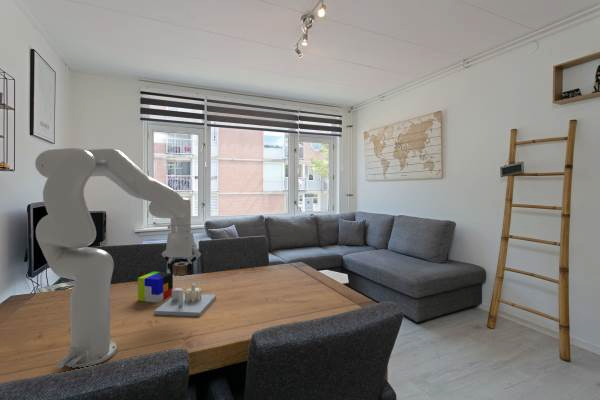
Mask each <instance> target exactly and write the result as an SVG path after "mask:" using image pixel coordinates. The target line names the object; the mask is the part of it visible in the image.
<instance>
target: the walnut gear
mask: <svg viewBox="0 0 600 400" xmlns="http://www.w3.org/2000/svg"><path fill="white" fill-rule="evenodd" d="M188 264H189V262H188V261H179V262H175V264H172V275H173V277H177V276H178V277H184V276H188V275H189V274H188V273H187V265H188Z"/></svg>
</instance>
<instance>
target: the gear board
mask: <svg viewBox="0 0 600 400" xmlns="http://www.w3.org/2000/svg"><path fill="white" fill-rule="evenodd" d="M190 286H191V287H190V288H187V289H186V290H184V289H183V288H181V287H175V288H173V289H172V295H171V297H170V298H169V299H168V300H166V301H165V302H164V303H163V304H161V305H160V306H159V307H157V308H156V309H155V310H153V312H154V313H153V314H154V315H155V316H156V315H157V316H176V317H178V316H180V317H200V316H202V314H203V313H204V312H206V311H207V309H208V308H209V307H210V306H211V304H212V303H213V302H214V301H215V300H216V299H217V294H206V293H205V294H203V293H202V288H200V287H196V283H191V285H190Z"/></svg>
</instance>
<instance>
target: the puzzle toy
mask: <svg viewBox="0 0 600 400" xmlns="http://www.w3.org/2000/svg"><path fill="white" fill-rule="evenodd" d="M173 285H174V275H172V273H170V272H164V271H162V272H161V271H151V272H149V273H147V274H143V275H142V276H139V277H138V278H137V301H141V302H150V303H160V302H162V301H164V300H166V299H167V298H169V297H172V289H174V286H173Z"/></svg>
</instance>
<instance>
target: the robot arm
mask: <svg viewBox="0 0 600 400" xmlns="http://www.w3.org/2000/svg"><path fill="white" fill-rule="evenodd" d="M34 164H35V165H34V166H35V169H36V171H37V172H38V173H39V174H40V175H41V176H42V177H44V178H47V179H46V181H45V183H44V185H43V186H44V187H43V191H42V198H43V203H44V208H45V210H46V212H47V215H45V216H43V217H41V219H40V220H39V221H38V223H37V225H36V227H35V238H36V241H37V243H38V245H39V247H40V249H41V251H42V254H43V256H44V258H45V260H46V262H47V264H48V266H49V268H50V270H51V271H52V272H53V273H54V275H56V276H58V277H59V278H63V279H64V278H65V279H69V280H73V281H74V285H73V287H72V291H71V293H70V297H69V315H70V318H69V319H70V320H69V321H70V325H69V327H70V347H69V348H68V350H67V354H66V355H65V356H64V357H63V358H61V359H60V360H58V361H57V362H56V367H57V368H58V369H62V368H64V367H65V366H66V367H67V368H71V367H72V369H77V368H76V367H79V368H78V369H80V368H81V367H82V366H84V367H83V368H87V367H86V366H88V367H91V366H95V365H98V364H101V363H103V362H105V361H107V360H108V359H111V357H113V356H114V355H115V354H116V352H117V349H118V347H117V344H116V343H115V342H114V341H112V340H111V338H112V337H111V336H112V335H111V334H112V333H111V282H112V276H113V272H114V267H115V266H114V265H115V264H114V263H115V262H114V259H113V257H112V255H111V254H110V253H109V252H108V251H106V250H103V249H101V248H95V247H88V246H90V245H91V244H93V243H94V242H95V240H96V237H97V230H96V229H97V228H96V225H95V222H94V221H93V218H92V215H91V213H90V210H89V207H88V206H87V202H86V199H85V194H84V193H85V192H84V191H85V187H86V184H87V182H88V181H89V179H90V178H91V177H105V178H108V179H109V180H110V181H112V182H113V183H114V184H115V185H117V187H119V188H120V189H122V190H123V192H125V193H127V194H128V195H130V196H131V197H134V198H136V199H139V200H144V201H147V202H148V201H149V202H150V203H149V205H148V211H149V214H150V215H151V216H152V217H155V218H159V219H170V225H167V229H169V230H170V231H169V232H168V233H167V238H166V239H167V240H166V247H165V250H164V251H162V252H161V256H162V257H163V258H164V259H165V261H166V262H167V264H168V269H169V273H172V264H175V263H176V261H175V259H178V258H179V259H186V260H187V262H188V263H189V264H188V265H187V273H188V275H190V274H191V273H193V271H194V263H195V261H197V260H198V258H199V257H200V256H201V255H202V254H201V252H200V251H199V250H198V249H197V248H196V246H195V238H194V233H193V231H192V227H191V226H192V216H191V215H192V213H191V210H192V207H191V202H192V201H191V199H190V198H189V197H188V198H187V197H183V196H181V195H180V194H179V193H178V191H176V190H174V189H173V188H171V187H170V186H168V185H166V184H164V183H163V182H160V181H159V180H157V179H154V178H153V177H150V176H149V175H148V174H147V173H146V172H145V171H143V170H142V169H141V168H140V167H139V166H138V165H137V164H136V163H135V162H133V161H132V160H131V159H130V158H129V157H128V156H127V155H126V154H124V152H122V151H120V150H119V149H115V148H97V149H96V148H94V149H93V148H91V149H84V148H79V147H78V148H77V147H76V148H75V147H74V148H73V147H72V148H70V147H69V148H57V149H56V148H54V149H47V150H44V151H42V152H40V153H39V154H38V155H37V157H36V158H35V163H34ZM81 369H82V368H81Z"/></svg>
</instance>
